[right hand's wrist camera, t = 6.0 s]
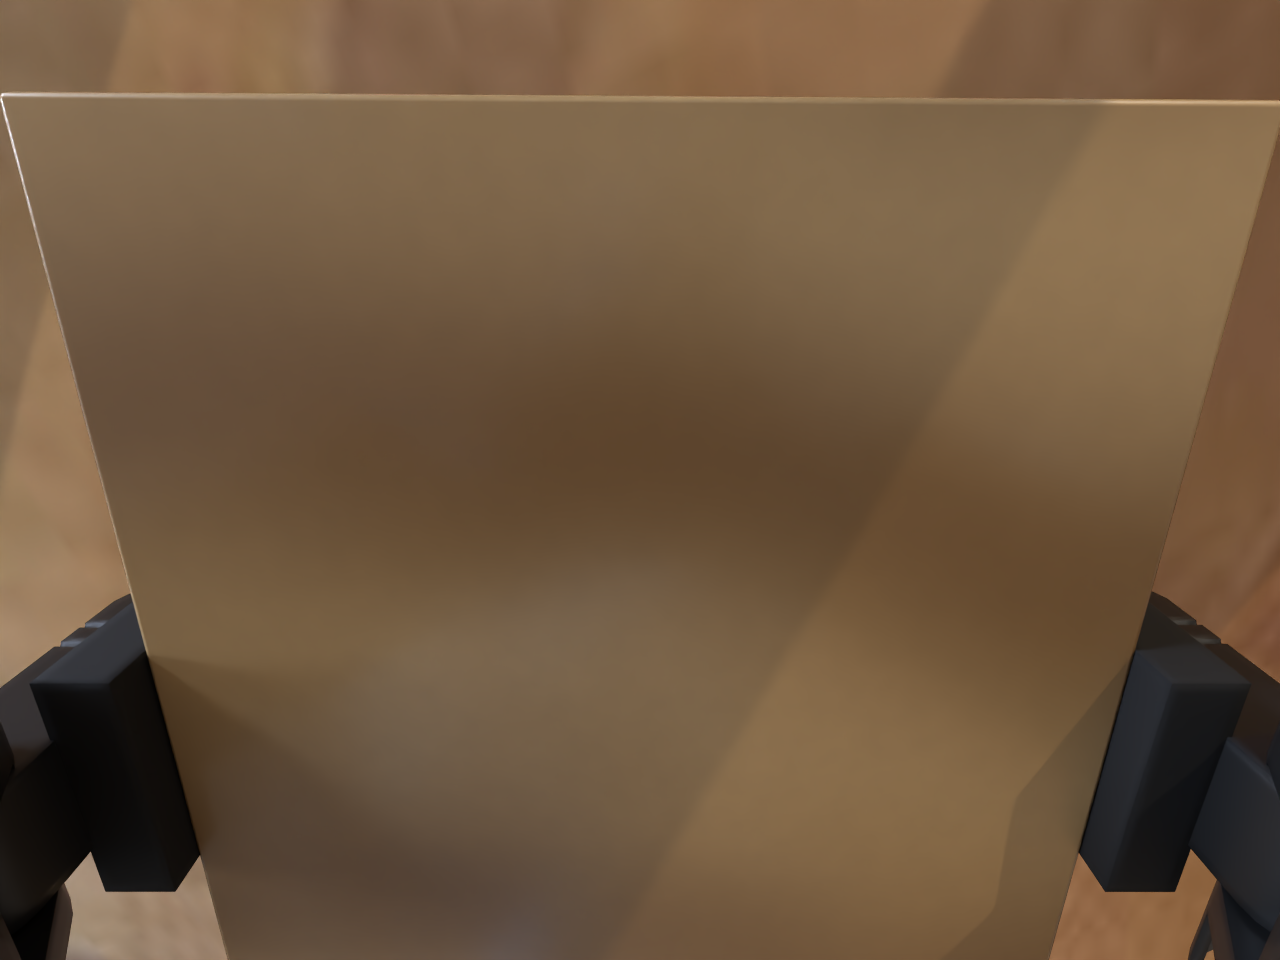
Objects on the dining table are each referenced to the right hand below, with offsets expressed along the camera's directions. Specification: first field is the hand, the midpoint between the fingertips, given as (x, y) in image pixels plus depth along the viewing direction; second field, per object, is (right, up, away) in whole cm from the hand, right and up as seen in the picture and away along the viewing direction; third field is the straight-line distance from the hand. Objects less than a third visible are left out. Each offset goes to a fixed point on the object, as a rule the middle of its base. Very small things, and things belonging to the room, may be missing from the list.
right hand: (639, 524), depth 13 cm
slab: (0, -24, +9) cm, 26 cm away
